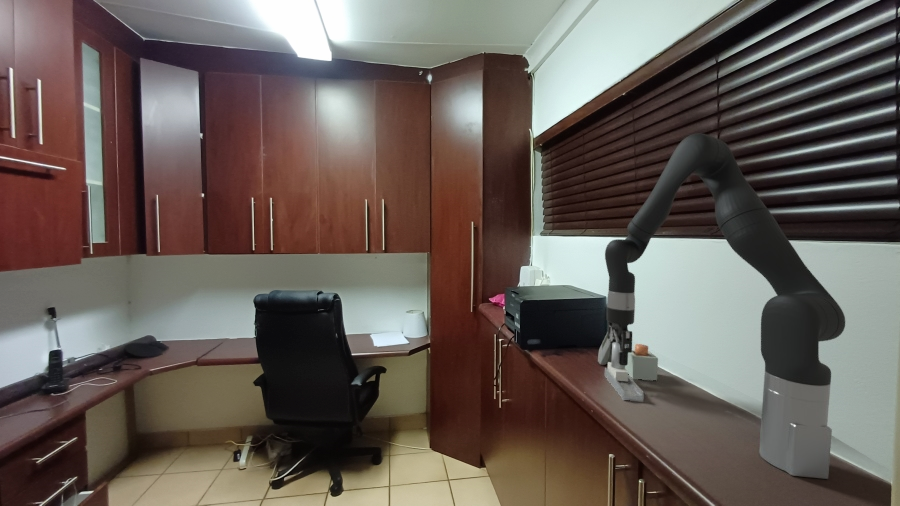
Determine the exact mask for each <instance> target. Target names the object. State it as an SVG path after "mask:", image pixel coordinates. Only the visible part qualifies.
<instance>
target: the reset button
mask: <svg viewBox="0 0 900 506" xmlns="http://www.w3.org/2000/svg"><path fill="white" fill-rule="evenodd" d="M634 350H635V355H636V356H648V351H649V346H648V345H645V344H641V343H639V344H638V343H636V344H635V346H634Z"/></svg>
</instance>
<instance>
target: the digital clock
mask: <svg viewBox="0 0 900 506" xmlns="http://www.w3.org/2000/svg"><path fill="white" fill-rule="evenodd" d="M607 336H608V331H607V332H606V335H605V336H604V338H603V340H602V343H601V345H600V347H599V349H598V356H597V362H598V363H599V365H600V366H605V365H608V362H611V361H612V356H611V355H610V342H609V339H608V338H607Z"/></svg>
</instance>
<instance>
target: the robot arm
mask: <svg viewBox="0 0 900 506" xmlns="http://www.w3.org/2000/svg"><path fill="white" fill-rule="evenodd" d="M691 175H696V176H698V177H699V178H700V179H701V180H702V182H703V183H704V184H705V185H706V187H707V188H708V190H709V191H710V193H711V195H712V197H713V201H714V215H715V220H716V224H717V225H718V228H719V230H720V231H721V233H722V235H723V237H724V239H725V240H726V242H727V244H728V246H730V247H731V249H732V250H733V251H734V252H735V254H737V256H739V258H741V259H742V260H743V261H744V262H745V263H747V264H748V265H750V266H751V267H752V268H753V269H754V270H755V271H756V272H758V273H759V274H760V275H762V276H763V277H764V279H765V280H766V281H767V282H768V283H769V285H770V286H771V287H772V289H773V290H774V292H775V294H776V295H774V296H773V297H771V298H769V300H767V302H765V304H764V306H763V309H762V311H761V317H760V318H761V319H760V351H761V352H760V353H761V356H762V359H763V361H764V375H763V376H764V377H763V378H764V379H763V390H762V391H763V392H762V403H761V404H762V405H761V406H762V407H761V421H760V436H759V451H758V452H759V455H760V457H761V458H762V459H763V460H765V461H766V462H767V463H769V464H771V465H772V466H774V467H775V468H777V469H779V470H782V471H784V472H786V473H788V474H789V476H794V477H802V478H803V477H805V478H815V479H816V478H817V479H823V480H824V479H826V480H829V472H830V470H829V469H830V461H831V459H830V458H831V449H832V447H831V445H832V434H833V433H832V432H833V431H832V430H833V429H832V428H831V427H829V426H828V420H829V419H828V418H829V405H830V396H831V395H830V394H831V382H832V370H831V368H830V367H829V366H828V365H826V364H824V363H823V362H821V361H820V357H819V356H820V355H819V354H820V353H819V351H820V350H819V348H820V347H819V342H828V341H831V340H834V339H837V338H838V337H839V336H841V335H842V334H843V332H844V330H845V328H846V316H845V314H844V311H843V309H842V307H841V306H840V305H839V304H838V302H837V301H836V300H835V299H834V297H833V296H832V295H831V294H830V293H829V291H828V290H827V289H826V288H825V287H824V286H823V285H822V283H821V282H820V281H819V280H818V279H817V278H816V277H815V275H814V274H813V273H812V271H810V270H809V268H808V266H807V265H806V264H805V263H804V261H803V260H802V259H801V257H800V256H799V253H798V252H797V251H796V249H795V247H794V246H793V245H792V244H791V243H792V242H790V240H789V239H788V237H787V236H786V235H785V233H784V232H783V230H782V228H781V227H780V225H779V224H778V222H777V220H776V219H775V217H774V216H773V214H772V213H771V211H770V210H769V209H768V208H767V206H766V205H765V204H764V202H763V201H762V199H761V198H760V197H759V195H758V193H757V192H756V191H755V190H754V188H753V187H752V185H750V184H749V182H748V181H747V179H746V178H745V176H744V173H742V170H741V169H740V167H739V165H738V162H737V160H736V158H735V156H734V154H733V152H732V149H731V148H730V147H729V146H728V143H726V142H725V141H723V140H721V139H719V138H716V137H713V136H711V135H709V134H706V133H700V132H697V133H692V134H689V135H688V136H686V137H684V138H683V139H682V140H681V141H680V143H678V145H677V146H676V148H675V149H674V151H673V152H672V154H671V156H670V158H669V160H668V162H667V163H666V165H665V167H664V169H663V171H662V173H661V174H660V177H659V178H658V180H657V181H656V183H655V185H654V187H653V189H652V191H651V192H650V194H649V196H648V197H647V199H646V200H645V202H644V203H643V204H642V206H641V207H640V209H639V210H638V211H637V213H635V215H634V217H633V218H632V219H631V220H630V222H629V223H628V225H627V228H626V229H627V232H628V235H627V236H626V238H625V239H619V238H618V239H612V240H611V241H609V242H608V244H607V245H606V247H605V251H604V260H605V264H606V268H607V269H606V270H607V273H608V290H607V291H608V292H607V298H606V299H607V300H606V321H607V322H608V325H607V332H608V336H607V338H608V339H609V342H610V355H611V356H612V343H613V342H616V344H617V345H618V346H619V364H620V365H625V366H626V365H627V364H628V353H631V352H632V350H633V331H631V330H630V331H629V330H628V326H629V325H633V324H634V323H635V312H636V306H635V305H636V298H635V297H636V296H635V295H636V294H635V292H636V289H635V286H636V276H635V274H634V273H633V272H631V271H630V270H629V266H628V264H632V263H635V262H637V260H639V259H640V258H641V257H642V256H643V254H644V253H645V251H646V249H647V248H648V245H649V244H650V241H651V239H652V238H653V236H654V235H655V234H656V233H657V232H658V230H659V229H660V228H661V227H662V226H663V224H664V223H665V222H666V220H667V219H668V216H669V215H670V213H671V210H672V207H673V202H674V200H675V198H676V195H677V193H678V191H679V189H680V188H681V186H682V185H683V183H685V182H686V181H687V180H688V178H690V176H691ZM621 345H622V346H621Z"/></svg>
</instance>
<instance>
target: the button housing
mask: <svg viewBox="0 0 900 506" xmlns="http://www.w3.org/2000/svg"><path fill="white" fill-rule="evenodd" d="M658 364H659V358H658V357H657V356H656V355H655V354H653V353H652V352H651V351H649V350H648V356H636V355H635V349H632V352H631V353H628V364H627V365H626V366H625V367H624V368H625V369H626V370H627V371H628V372H629V375H628V376H629V377H630V378H631V377H632V378H633V379H632V378H631V379H632V380H638V379H642V380H641V381H643V380H644V381H653V380H656V382H657V381H658V369H659V368H658V366H659V365H658Z"/></svg>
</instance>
